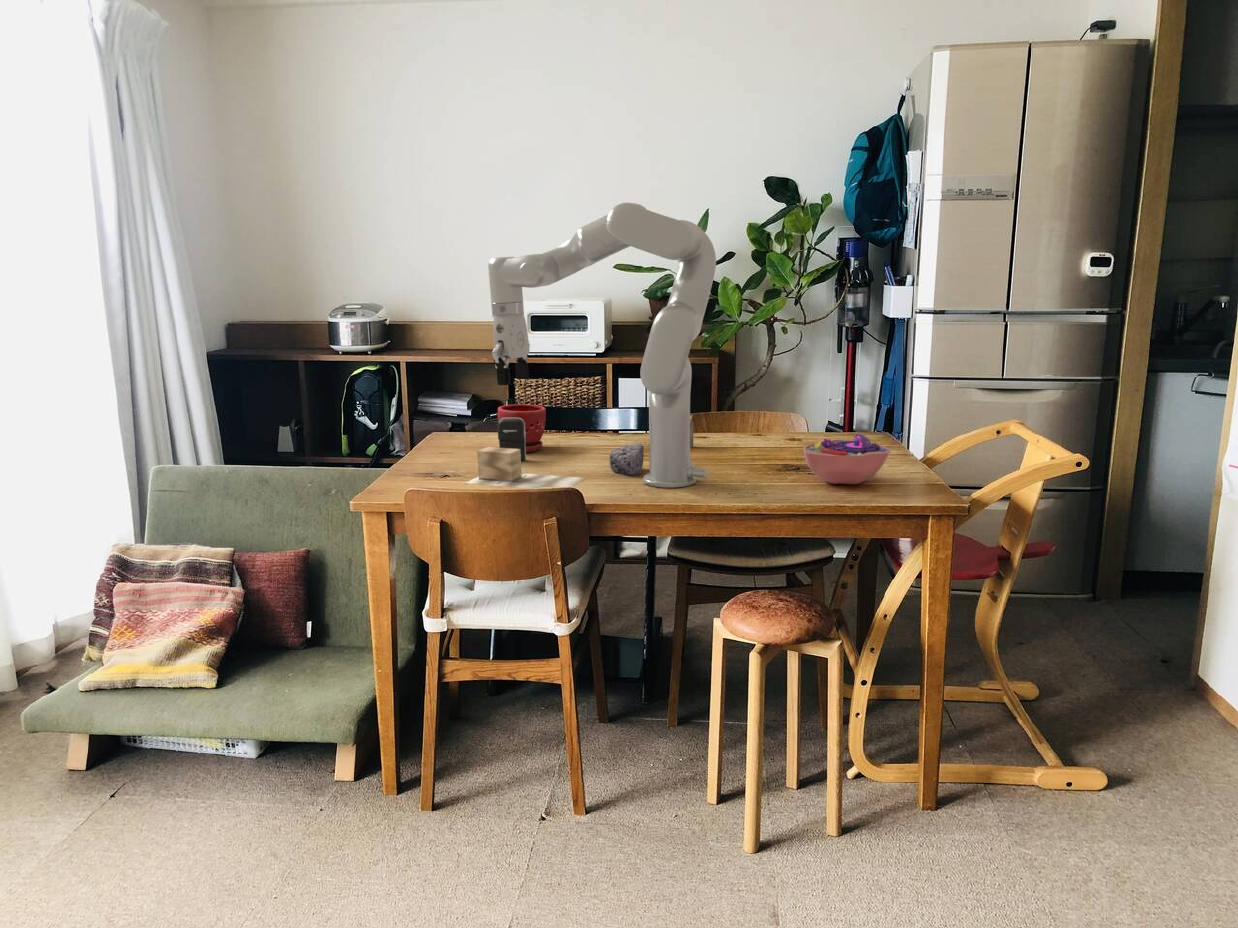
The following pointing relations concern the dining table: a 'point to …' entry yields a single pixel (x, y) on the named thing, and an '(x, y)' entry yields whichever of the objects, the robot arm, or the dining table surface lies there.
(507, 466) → the block
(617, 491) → the dining table surface
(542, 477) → the board
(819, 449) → the cell model
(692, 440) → the ruin model on sheet
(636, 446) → the pumice stone
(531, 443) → the plant pot
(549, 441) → the dining table surface
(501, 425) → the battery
